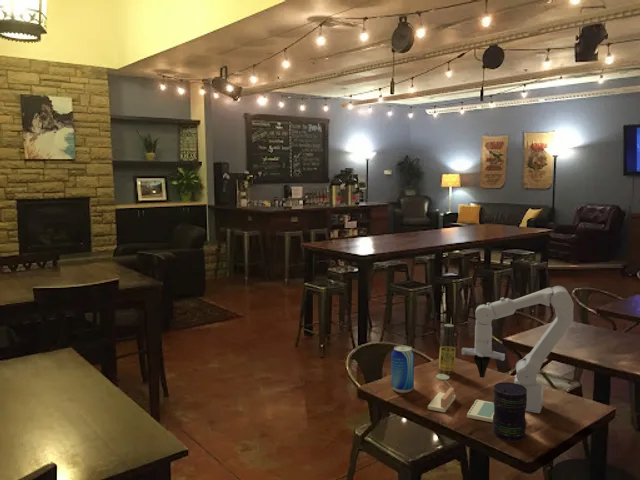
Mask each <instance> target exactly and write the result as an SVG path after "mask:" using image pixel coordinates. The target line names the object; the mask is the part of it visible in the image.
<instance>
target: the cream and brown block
mask: <svg viewBox="0 0 640 480" xmlns="http://www.w3.org/2000/svg"><path fill="white" fill-rule="evenodd" d="M455 399H456V394H455V387H452V388H451V387H450V386H449V387H448V389H447V390H446V392H440V391H438V393H437V395H435V396H434V397H433V398H432V400H431V401H430V403H429V404H428V405H427V410H431V411H436V412H441V413H446V412H447V410H448V409H449V408H450V406H451V405H452V404H453V402H454V401H455Z"/></svg>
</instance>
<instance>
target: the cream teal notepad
mask: <svg viewBox="0 0 640 480" xmlns="http://www.w3.org/2000/svg"><path fill="white" fill-rule="evenodd" d="M493 415H494V402H492V401H486V400H482V399H476V400H475V401H474V403H473V404H472V406H471V407H470V409H469V410H468V412H467V413H466V418H469V419H473V420H479V421H483V422H488V423H492V424H493Z"/></svg>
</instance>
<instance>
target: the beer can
mask: <svg viewBox="0 0 640 480" xmlns="http://www.w3.org/2000/svg"><path fill="white" fill-rule="evenodd" d="M412 349H413V348H412V347H410V346H409V345H396V346H394V347H393V350H392V352H391V356H390V357H391V360H390V361H391V363H390V364H391V365H390V366H391V367H390V368H391V370H390V372H391V373H390V374H391V376H390V386H391V388H392V389H393V391H395V392H396V393H402V394H405V393H410V392H411V391H412V390H413V389H414V387H415V354H414V351H413V350H412Z"/></svg>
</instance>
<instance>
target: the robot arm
mask: <svg viewBox="0 0 640 480" xmlns="http://www.w3.org/2000/svg"><path fill="white" fill-rule="evenodd" d="M539 304H541V305H544V306H546V307H550V306H552V307H553V309H554V311H555V312H554V313H555V315H556V317H555V318H554V319H553V321H552V322H551V323H550V324H549V326H548V327H547V329H546V330H545V332H544V333H543V334H542V336H540V339H538V340H537V342H536V344H535V345H534V347H532V349H531V351H530V352H529V353H527V354H526V355H525V356H524V357H523V358H522V359H519V360H518V361H517V362H516V364H515V370H516V376H515V377H514V381H513V383H516V384H519V385H522V386H524V387H525V388H526V389H527V403H526V404H527V406H526V409H525V412H529V413H535V414H540V413H541V412H542V408H543V406H544V385H543V384H542V383H538V382H537V377H538V376H537V375H538V373H539V372H540V370H541V368H542V365H543V363H544V361H546V359H547V357H548V356H549V355H550V354H551V352H552V351H553V349H554V348H555V346H557V344H559V341H560V340H561V338H562V337H563V336H564V335H565V334H566V332H567V330H568V329H569V328H570V327H571V326H572V324H573V323H574V304H575V303H574V302H573V299H572V297H571V295H570V294H569V292H568V290H567V288H565V287H564V286H562V285H555V286H553V287H546V288H543V289H540V290H538V291H535V292H532V293H529V294H527V295H524V296H521V297H518V298H514V299H511V298H509V297H506V298H505V297H500V298H499V300H496V301H493V302H486V304H480V305H478V306H477V307H476V309H475V311H474V312H475V315H474V317H475V326H474V348H471V347H470V348H469V347H462V348H461V355H462V356H463V355H464V356H466V355H467V356H473V361H474V363H475V365H476V367H477V370H478V374H479V378H483V379H484V378H485V377H486V373H487V368H488V366H489V364H490V361H491V359H493V360H495V359H496V360H500V361H505V359H506V357H505V356H506V353H503V352H502V353H501V352H497V351H495V350H492V345H493V343H492V341H493V326H492V321H493V320H498V319H501V318H505V317H508V316H511V315H514V314H515V312H516V310H519V309H523V308H526V307H530V306H535V305H539Z"/></svg>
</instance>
